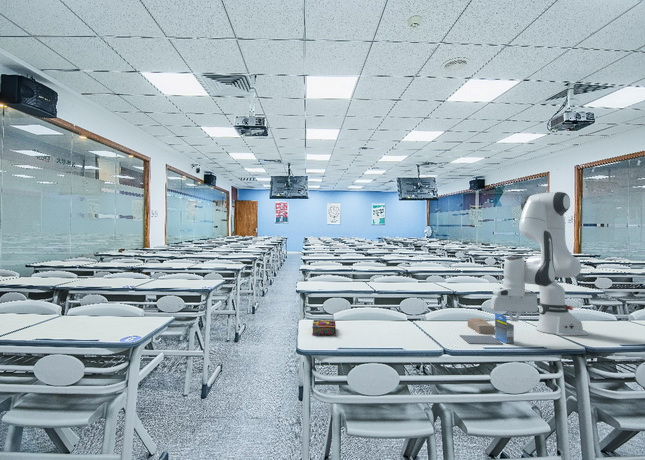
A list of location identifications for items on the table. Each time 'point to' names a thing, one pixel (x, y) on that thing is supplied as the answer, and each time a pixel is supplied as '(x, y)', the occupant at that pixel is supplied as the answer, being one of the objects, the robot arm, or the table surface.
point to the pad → (480, 339)
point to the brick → (481, 326)
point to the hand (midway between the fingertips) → (514, 321)
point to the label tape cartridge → (503, 330)
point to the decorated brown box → (324, 327)
